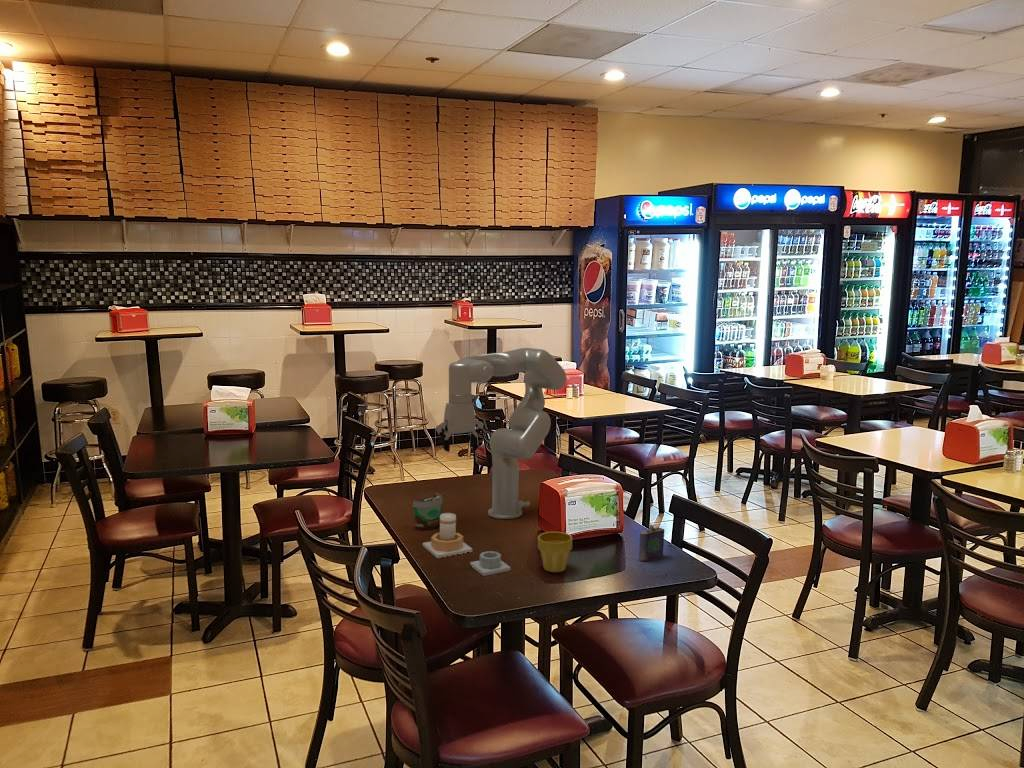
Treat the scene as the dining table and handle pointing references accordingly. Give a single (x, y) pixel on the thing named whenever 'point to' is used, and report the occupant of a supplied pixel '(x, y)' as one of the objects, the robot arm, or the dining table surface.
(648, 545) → the flask
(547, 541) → the plant pot
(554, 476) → the dining table surface
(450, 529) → the beige peg
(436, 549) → the wide socket
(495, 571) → the narrow socket
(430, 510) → the food container
